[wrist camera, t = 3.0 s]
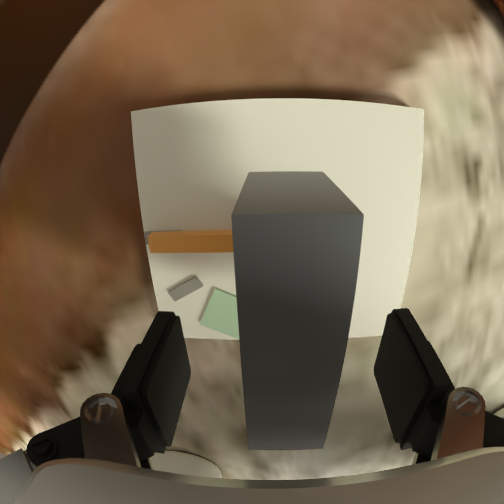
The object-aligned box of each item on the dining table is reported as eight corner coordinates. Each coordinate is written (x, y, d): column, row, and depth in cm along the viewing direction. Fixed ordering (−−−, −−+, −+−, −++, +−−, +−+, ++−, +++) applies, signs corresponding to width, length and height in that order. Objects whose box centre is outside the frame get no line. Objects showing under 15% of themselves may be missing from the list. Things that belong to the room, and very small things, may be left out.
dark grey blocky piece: (307, 156, 13) (364, 214, 5) (303, 300, 15) (322, 448, 8) (147, 163, 13) (18, 226, 5) (166, 299, 16) (103, 429, 8)
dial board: (413, 109, 12) (425, 109, 11) (386, 327, 17) (393, 342, 16) (141, 111, 13) (129, 111, 12) (171, 329, 18) (165, 344, 17)
